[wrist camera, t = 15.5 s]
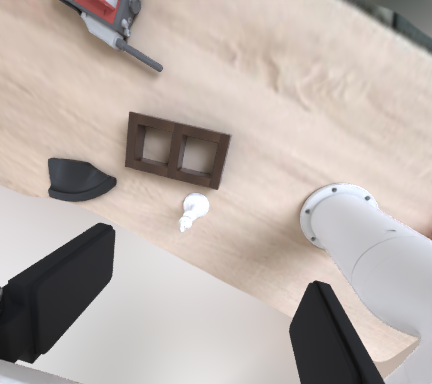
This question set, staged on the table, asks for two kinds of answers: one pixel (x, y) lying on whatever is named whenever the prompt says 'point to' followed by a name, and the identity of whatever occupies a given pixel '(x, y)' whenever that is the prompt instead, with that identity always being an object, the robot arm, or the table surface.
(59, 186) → the curved wedge
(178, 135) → the rack
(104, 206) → the table surface
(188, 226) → the chess piece
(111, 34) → the walkie-talkie
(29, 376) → the robot arm
